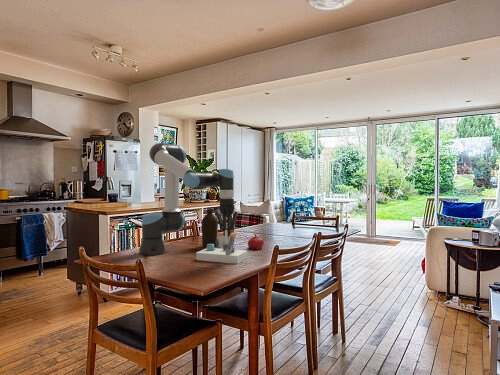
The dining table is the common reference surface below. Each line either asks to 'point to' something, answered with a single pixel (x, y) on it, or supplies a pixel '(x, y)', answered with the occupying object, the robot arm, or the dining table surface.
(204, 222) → the olive oil
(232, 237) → the lever
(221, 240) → the electrical switch
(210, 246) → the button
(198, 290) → the dining table surface
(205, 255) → the panel
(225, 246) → the slider
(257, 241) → the pomegranate
